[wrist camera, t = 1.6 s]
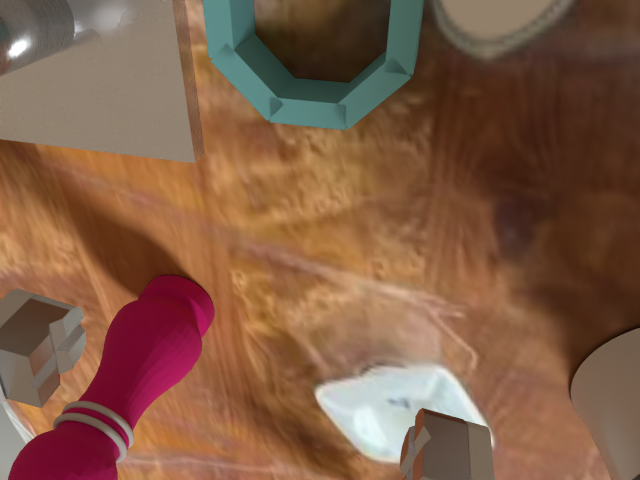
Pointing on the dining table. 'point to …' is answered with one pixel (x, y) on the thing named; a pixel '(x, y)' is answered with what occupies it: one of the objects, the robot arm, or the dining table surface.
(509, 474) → the dining table surface
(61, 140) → the post stand
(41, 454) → the pepper mill
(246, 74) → the ring
